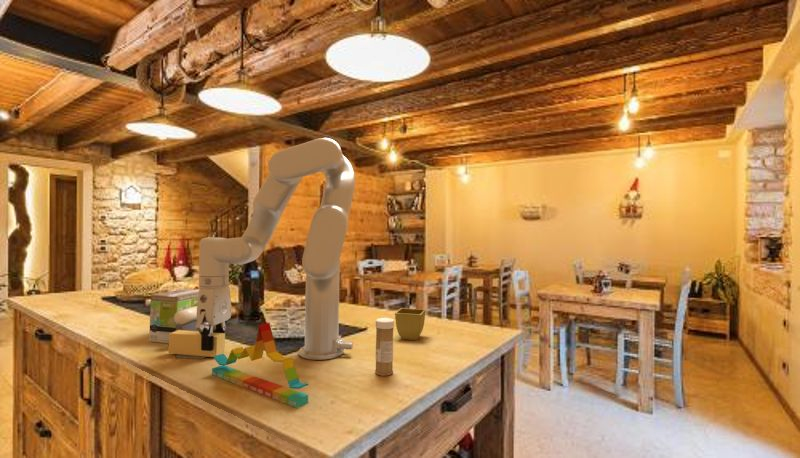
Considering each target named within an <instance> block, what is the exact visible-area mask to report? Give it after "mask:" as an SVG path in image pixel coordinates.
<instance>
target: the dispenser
mask: <svg viewBox="0 0 800 458" xmlns="http://www.w3.org/2000/svg"><path fill="white" fill-rule="evenodd" d="M174 320H175V322H176V323H177V324H178V325H176V331H178V330H186V331H198V330H197V329H196V324H197V306H194V307H191V308H188V309H185V310H182V311H178V312H177V313H176V314H175V315H174ZM206 324H208V322H207V323H206ZM205 328H207V329H208V330H209V326H206V327H205ZM213 330H215V329H214V325H213ZM212 333H213V332H212Z"/></svg>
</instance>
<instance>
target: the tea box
mask: <svg viewBox="0 0 800 458" xmlns="http://www.w3.org/2000/svg"><path fill="white" fill-rule="evenodd" d="M198 293H199V289H197V288H182V289H178V290H177V289H176V290H172V291H171V290H170V291H165V292H159V293H154V294H153V293H152V294H151V295H150V310H149V311H150V312H149V330H148V331H149V334H148V340H149V342H152V343H161V344H169V333H172V332H175V331H176V325H178V324H177V323H176V322H175V320H174V315H175V314H176V313H177V312H178V311H182V310H185V309H188V308H191V307H194V306H197V301H198Z"/></svg>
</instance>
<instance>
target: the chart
mask: <svg viewBox="0 0 800 458" xmlns="http://www.w3.org/2000/svg"><path fill="white" fill-rule="evenodd" d="M264 350H265V351H264ZM264 352H265V354H266V357H268V358H269V359H270V360H271V361H273V362H274V363H282V367H283V370H284V373H285V374H284V375H285V376H286V380H287V382H288V383H287V384H288V387H287V386H284V385H281V384H278V383H275V382H272V381H269V380H267V379H263V378H261V377H258V376H255V375H252V374H250V373H247V372H244V371H241V370H238V369H235V368H232V367H231V366H228V365H232V364H235V363H236V362H237V360H240V359H244V358H247V357H249V358H250V360H251V361H256V360H260V359H262V358H263V355H264ZM212 358H213V359H214V361H215V362H216V363H217V364H218V366H216V367H211V375H212V376H214V377H216V378H219V379H221V380H224V381H227V382H230V383H232V384H234V385H237V386H240V387H241V388H244V389H247V390H250V391H252V392H255V393H257V394H260V395H263V396H265V397H267V398H270V399H272V400H275V401H278V402H280V403H282V404H286V405H289V406H290V407H293V408H296V409H298V408H299V407H302V406H305V405H307V404H308V403H309V394H308V393H304V392H302V391H299V389H301V388H305V387H307V386H308V385H309V383H308V382H300V378H299V376H298V373H297V368H296V367H295V362H294V360H293V357H291V356H284V355H282V354H281V353H280V352H279V351H278V350H277V348H276V343H275V339H274V336H273V331H272V327H271V324H270V322H266V323H261V324H259V326H258V329H257V335H256V340H255V344H253V345H249V346H246V347H243V346H240V347H236V348H233V349H231V351H230V353H229V355H228V357H227V356H226V355H225V353H223V354H220V355H216V356H213V357H212ZM297 389H298V390H297Z"/></svg>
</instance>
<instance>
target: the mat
mask: <svg viewBox="0 0 800 458" xmlns="http://www.w3.org/2000/svg"><path fill="white" fill-rule="evenodd" d="M206 358H208V357H207V356H195V355H183V354H176V355H175V359H189V360H190V359H191V360H192V359H194V360H196V359H197V360H204V359H206Z"/></svg>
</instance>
